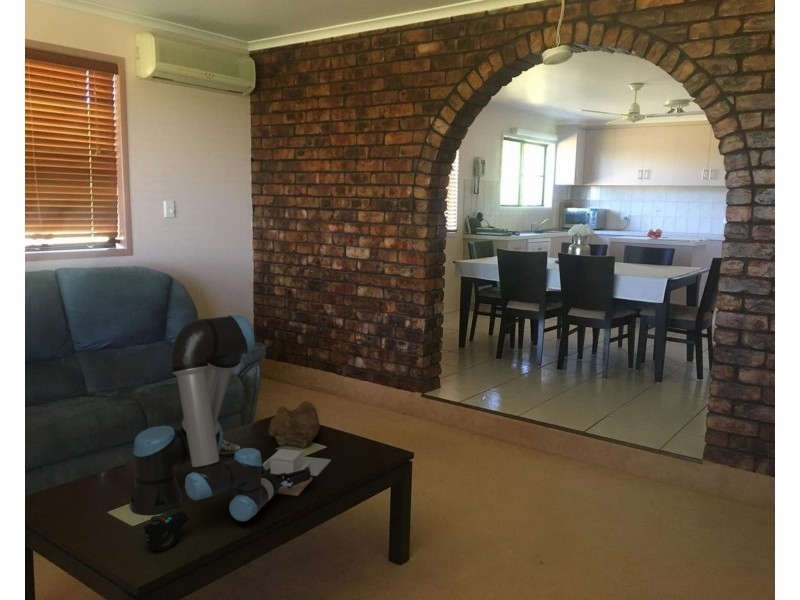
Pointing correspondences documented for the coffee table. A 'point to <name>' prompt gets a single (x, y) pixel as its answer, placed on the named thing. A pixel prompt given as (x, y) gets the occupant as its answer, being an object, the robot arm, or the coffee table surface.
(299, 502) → the coffee table surface
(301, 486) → the thin square tile
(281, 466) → the white box
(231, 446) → the log
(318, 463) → the mat
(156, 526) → the controller
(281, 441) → the rough brown rock
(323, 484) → the coffee table surface
